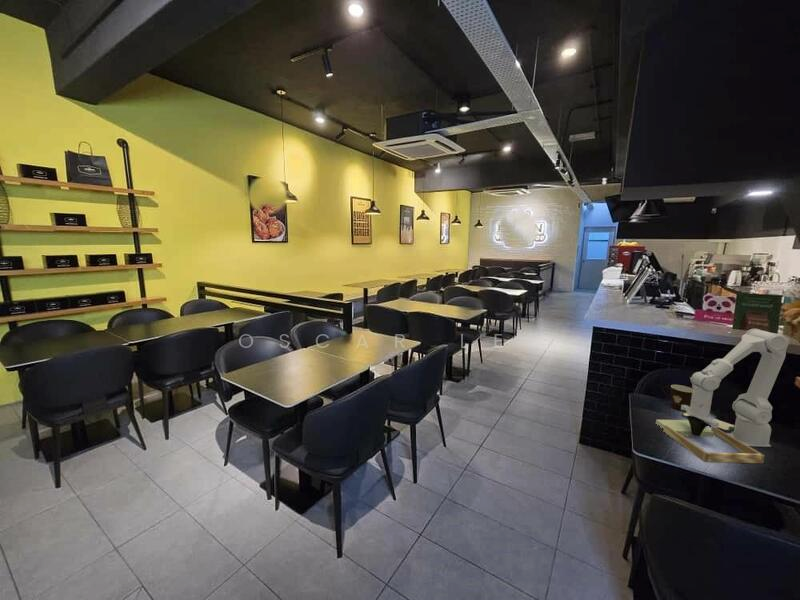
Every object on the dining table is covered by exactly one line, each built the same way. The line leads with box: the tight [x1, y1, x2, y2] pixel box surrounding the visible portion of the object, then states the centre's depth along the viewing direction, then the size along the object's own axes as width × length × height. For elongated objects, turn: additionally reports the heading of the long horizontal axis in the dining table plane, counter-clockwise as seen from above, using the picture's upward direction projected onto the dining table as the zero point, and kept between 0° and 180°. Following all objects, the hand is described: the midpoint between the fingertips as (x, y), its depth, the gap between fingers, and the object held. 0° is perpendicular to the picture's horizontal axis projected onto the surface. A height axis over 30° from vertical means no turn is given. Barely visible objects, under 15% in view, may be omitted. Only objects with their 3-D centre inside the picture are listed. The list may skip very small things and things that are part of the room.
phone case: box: [681, 412, 735, 434], centre depth 141 cm, size 9×2×16 cm
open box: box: [662, 425, 766, 464], centre depth 123 cm, size 20×19×3 cm
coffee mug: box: [661, 384, 693, 413], centre depth 154 cm, size 12×9×10 cm
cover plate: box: [655, 419, 714, 438], centre depth 135 cm, size 16×9×2 cm, turn 89°
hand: (695, 435), depth 129 cm, fingers closed
